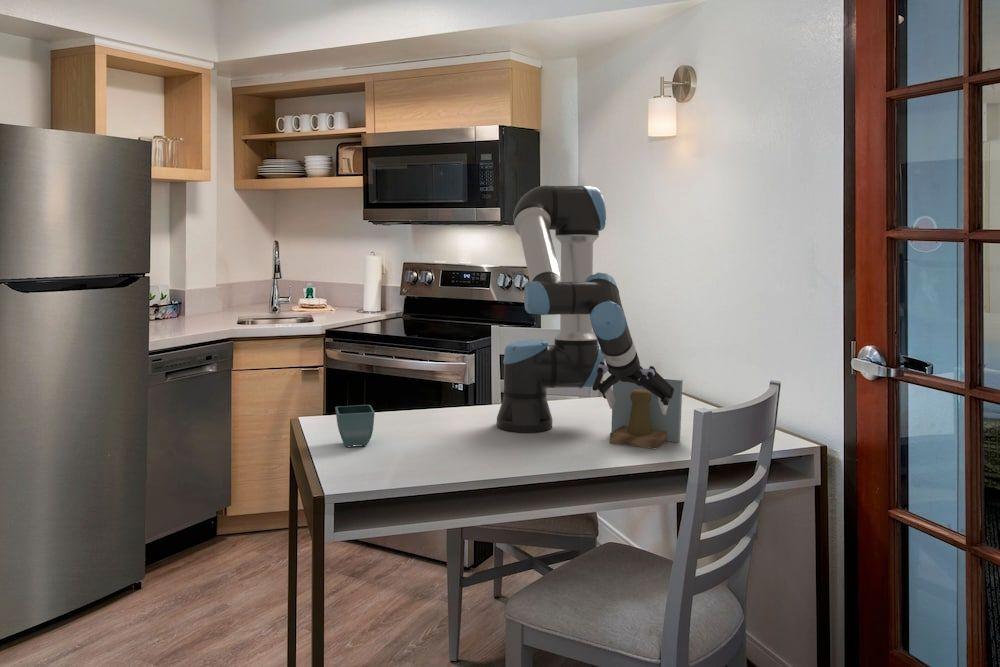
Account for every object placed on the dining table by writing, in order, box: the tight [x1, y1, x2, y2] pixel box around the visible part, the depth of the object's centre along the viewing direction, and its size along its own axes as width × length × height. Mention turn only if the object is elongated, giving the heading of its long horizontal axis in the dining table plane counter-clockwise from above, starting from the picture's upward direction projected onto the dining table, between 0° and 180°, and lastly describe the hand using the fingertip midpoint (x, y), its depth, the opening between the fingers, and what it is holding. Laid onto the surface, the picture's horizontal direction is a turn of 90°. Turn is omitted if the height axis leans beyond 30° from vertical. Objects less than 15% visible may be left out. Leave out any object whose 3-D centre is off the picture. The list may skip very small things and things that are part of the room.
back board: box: [610, 377, 684, 443], centre depth 219 cm, size 18×2×16 cm, turn 62°
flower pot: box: [334, 404, 376, 447], centre depth 209 cm, size 9×9×9 cm
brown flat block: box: [609, 426, 668, 449], centre depth 216 cm, size 12×9×2 cm
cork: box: [628, 389, 651, 435], centre depth 214 cm, size 6×6×11 cm
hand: (638, 407), depth 213 cm, fingers open, 13 cm apart
